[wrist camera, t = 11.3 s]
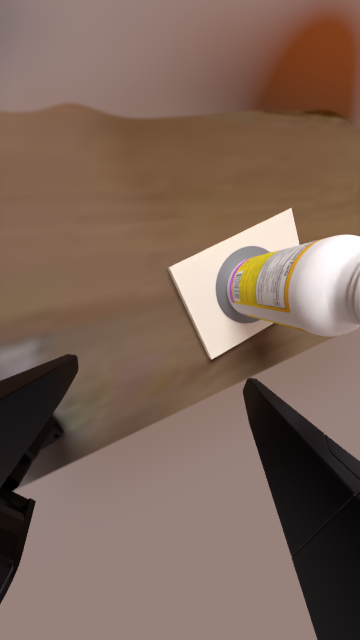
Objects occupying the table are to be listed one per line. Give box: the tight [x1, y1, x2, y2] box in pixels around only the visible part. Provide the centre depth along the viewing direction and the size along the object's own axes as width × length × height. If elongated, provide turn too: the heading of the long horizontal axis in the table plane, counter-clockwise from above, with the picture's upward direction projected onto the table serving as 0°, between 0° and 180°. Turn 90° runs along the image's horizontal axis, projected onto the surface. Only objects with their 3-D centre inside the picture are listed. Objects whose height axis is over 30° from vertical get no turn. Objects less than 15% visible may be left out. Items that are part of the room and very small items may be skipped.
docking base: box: [167, 208, 299, 360], centre depth 21 cm, size 16×12×1 cm
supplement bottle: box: [227, 235, 360, 336], centre depth 14 cm, size 7×7×13 cm
